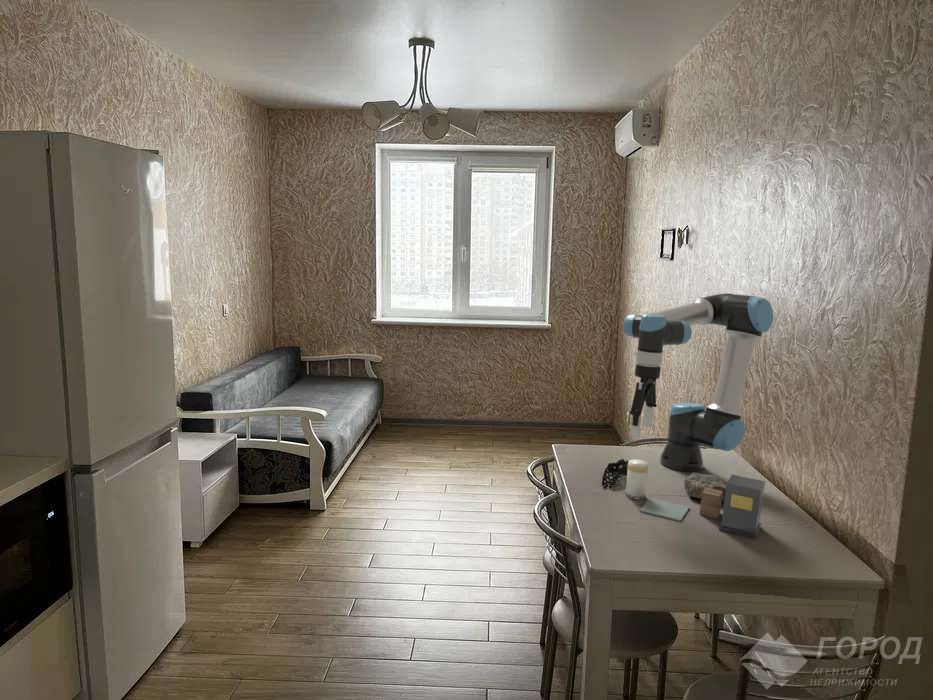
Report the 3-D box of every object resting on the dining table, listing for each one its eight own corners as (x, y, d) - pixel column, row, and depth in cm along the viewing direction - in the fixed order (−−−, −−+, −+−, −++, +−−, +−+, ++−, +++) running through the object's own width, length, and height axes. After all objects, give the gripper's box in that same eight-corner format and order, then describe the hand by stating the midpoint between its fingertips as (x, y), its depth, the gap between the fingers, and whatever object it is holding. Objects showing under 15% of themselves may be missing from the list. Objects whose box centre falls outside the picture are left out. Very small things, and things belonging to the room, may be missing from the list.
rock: (681, 486, 226) (689, 504, 211) (683, 468, 225) (690, 485, 210) (720, 489, 224) (731, 508, 210) (722, 471, 223) (733, 488, 208)
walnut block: (702, 509, 207) (705, 487, 205) (719, 513, 204) (722, 491, 203) (699, 514, 202) (702, 492, 201) (716, 518, 200) (719, 496, 199)
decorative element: (614, 491, 218) (616, 473, 217) (598, 487, 220) (600, 470, 219) (630, 471, 238) (631, 455, 237) (616, 468, 240) (617, 453, 239)
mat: (650, 499, 212) (650, 497, 212) (689, 508, 206) (689, 507, 206) (639, 511, 202) (639, 509, 202) (680, 521, 196) (680, 520, 196)
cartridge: (628, 490, 219) (631, 458, 217) (647, 495, 216) (650, 462, 214) (622, 496, 213) (625, 463, 211) (641, 500, 210) (645, 467, 208)
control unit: (725, 517, 201) (730, 473, 198) (761, 526, 196) (767, 480, 193) (718, 529, 192) (724, 483, 189) (756, 539, 187) (762, 491, 184)
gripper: (647, 358, 220) (640, 421, 223) (624, 367, 199) (617, 437, 202) (670, 361, 216) (663, 425, 220) (649, 371, 195) (641, 442, 198)
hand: (641, 431), depth 211 cm, fingers open, 13 cm apart
